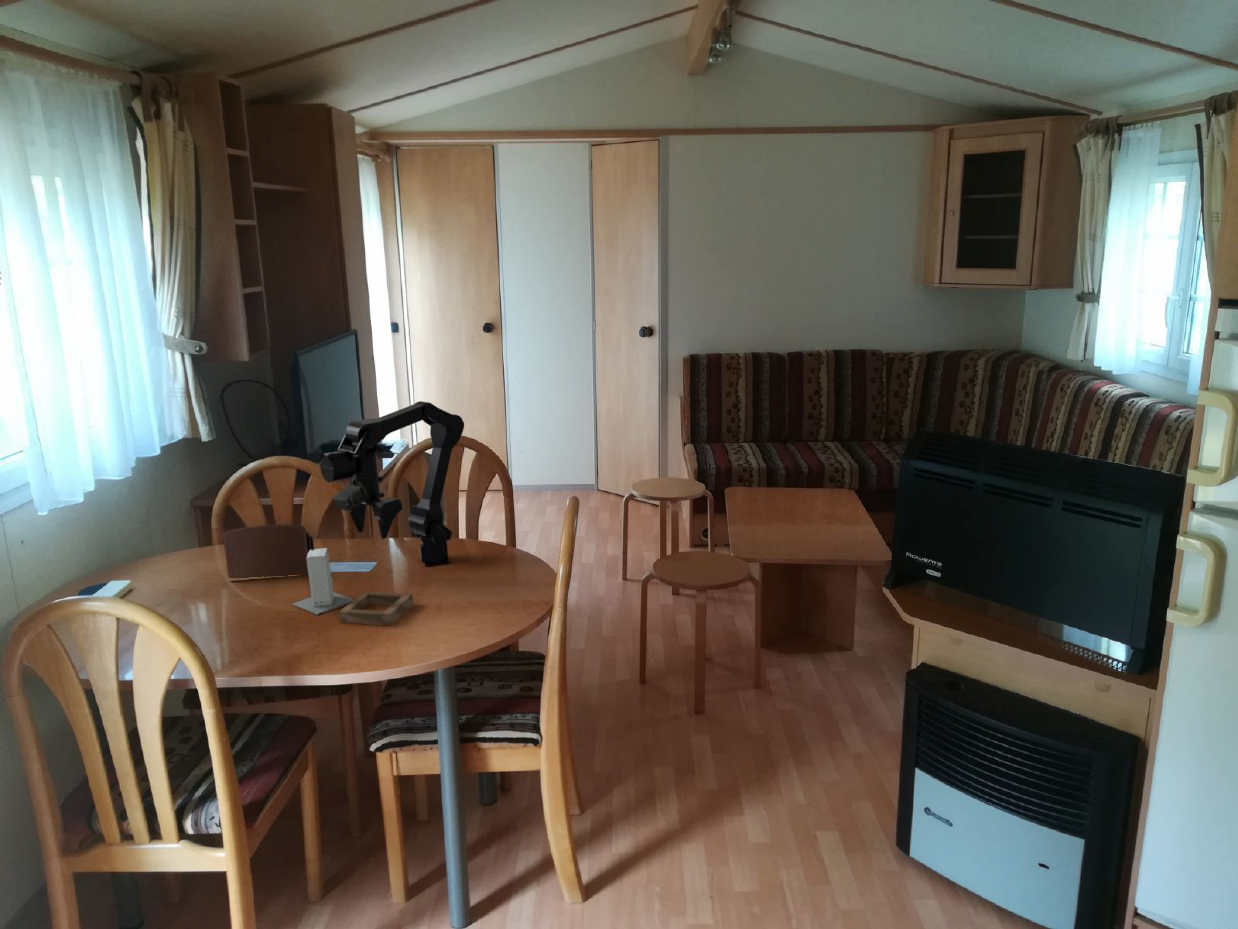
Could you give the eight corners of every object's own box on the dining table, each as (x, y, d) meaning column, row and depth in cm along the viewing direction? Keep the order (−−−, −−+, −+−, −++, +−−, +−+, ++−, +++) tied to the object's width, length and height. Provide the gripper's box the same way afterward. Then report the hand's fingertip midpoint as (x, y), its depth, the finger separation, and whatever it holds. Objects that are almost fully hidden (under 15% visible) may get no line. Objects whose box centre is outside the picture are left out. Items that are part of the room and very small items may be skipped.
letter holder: (310, 576, 232) (304, 523, 228) (228, 583, 228) (220, 529, 225) (316, 562, 241) (310, 511, 238) (237, 569, 238) (230, 517, 234)
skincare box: (332, 605, 211) (326, 555, 208) (311, 607, 210) (305, 557, 207) (334, 595, 217) (329, 547, 214) (314, 597, 216) (309, 548, 213)
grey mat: (329, 592, 220) (328, 590, 220) (354, 601, 214) (354, 599, 214) (292, 605, 212) (291, 604, 212) (317, 615, 206) (316, 613, 206)
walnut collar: (365, 601, 213) (364, 591, 213) (413, 604, 211) (412, 594, 210) (340, 622, 202) (338, 612, 201) (390, 625, 200) (389, 614, 199)
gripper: (314, 475, 219) (321, 537, 223) (361, 486, 207) (368, 551, 211) (353, 465, 227) (359, 525, 231) (401, 476, 216) (406, 538, 220)
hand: (372, 535), depth 223 cm, fingers open, 9 cm apart
